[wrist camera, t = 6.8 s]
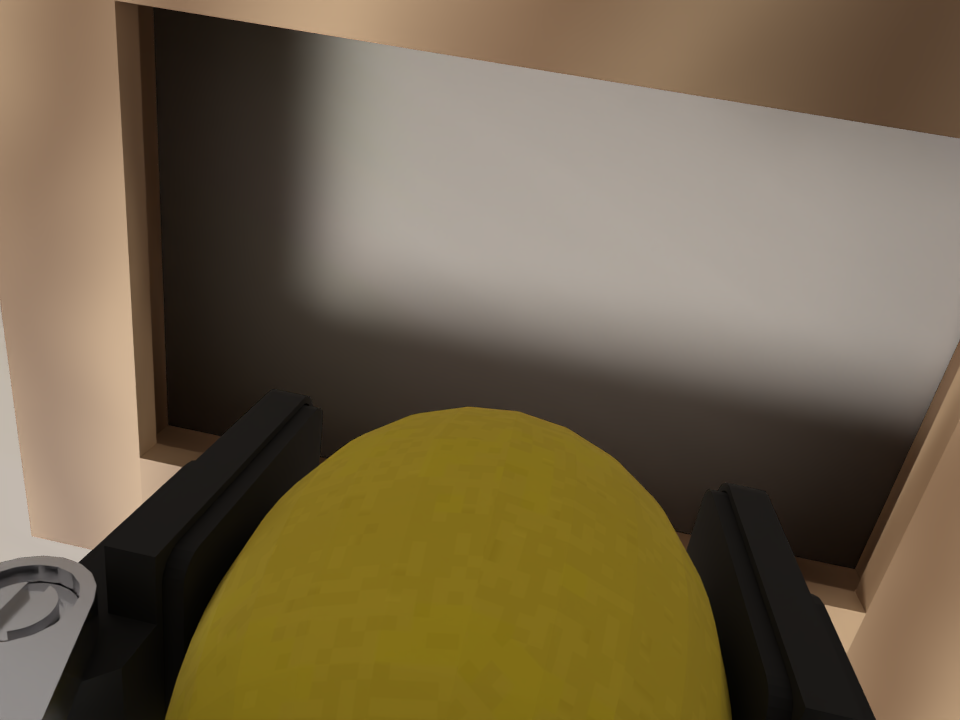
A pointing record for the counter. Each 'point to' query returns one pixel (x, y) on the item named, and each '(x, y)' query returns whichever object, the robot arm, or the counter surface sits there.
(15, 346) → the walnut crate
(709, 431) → the counter surface
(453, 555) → the lemon
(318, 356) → the counter surface
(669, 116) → the counter surface
